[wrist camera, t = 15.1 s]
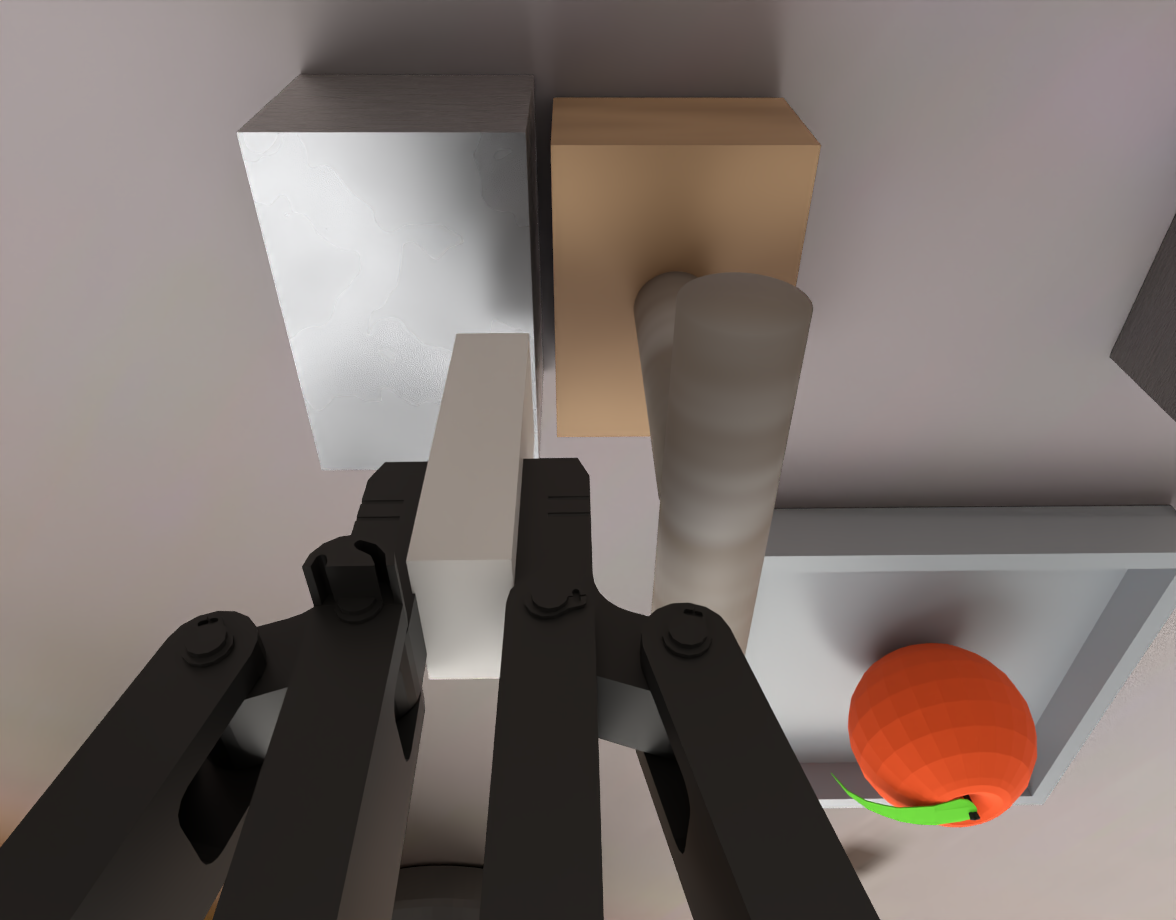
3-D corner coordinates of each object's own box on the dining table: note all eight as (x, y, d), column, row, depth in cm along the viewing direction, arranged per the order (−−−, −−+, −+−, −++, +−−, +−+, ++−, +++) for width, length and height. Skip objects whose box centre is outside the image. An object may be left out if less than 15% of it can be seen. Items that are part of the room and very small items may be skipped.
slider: (744, 362, 26) (851, 686, 16) (558, 363, 26) (552, 690, 16) (783, 97, 21) (971, 334, 11) (553, 97, 21) (540, 336, 11)
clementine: (814, 724, 38) (857, 880, 32) (794, 632, 34) (839, 792, 28) (992, 691, 37) (1069, 848, 31) (993, 591, 32) (1082, 751, 27)
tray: (1020, 758, 41) (1042, 804, 39) (685, 762, 41) (691, 810, 39) (1171, 505, 31) (1212, 552, 29) (722, 509, 30) (732, 556, 28)
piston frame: (1192, 369, 27) (1326, 485, 22) (358, 374, 26) (313, 494, 22) (1353, 76, 21) (1577, 147, 17) (299, 74, 21) (220, 147, 16)
